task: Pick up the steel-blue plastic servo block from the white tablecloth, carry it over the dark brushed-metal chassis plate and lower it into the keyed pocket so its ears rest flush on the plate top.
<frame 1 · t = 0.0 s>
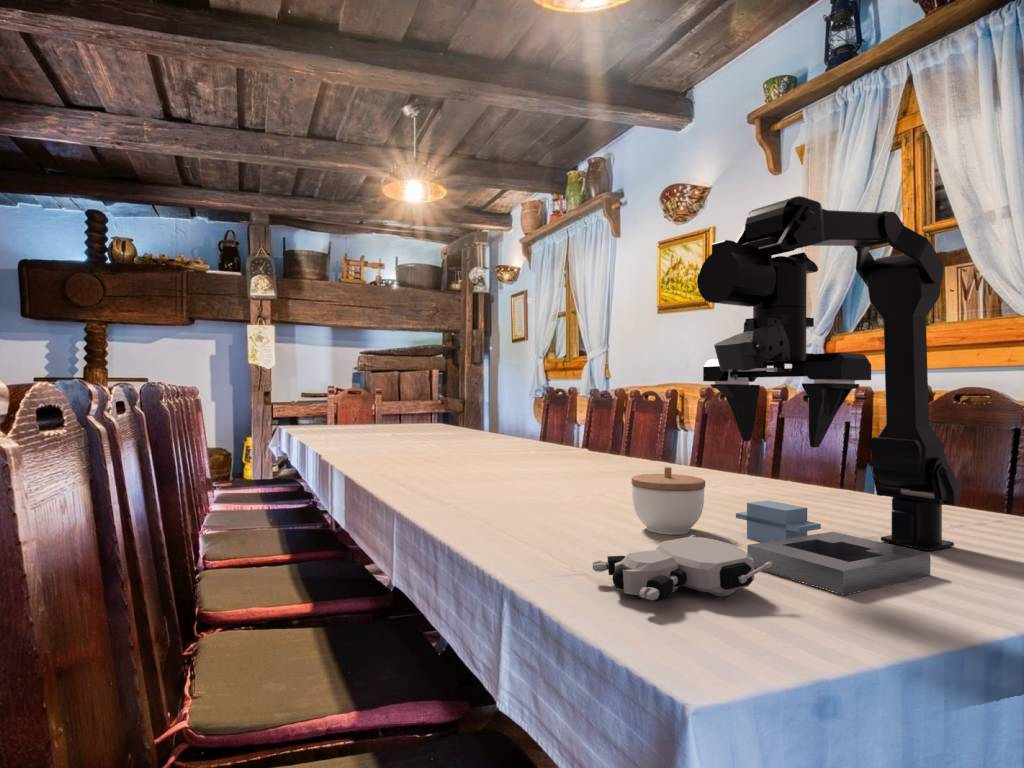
hand: (778, 443, 72), 15 cm above the table, fingers open, 9 cm apart
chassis: (831, 571, 71), on the table
lidded jar: (667, 531, 92), on the table
robot toy: (676, 594, 64), on the table
servo: (776, 541, 86), on the table
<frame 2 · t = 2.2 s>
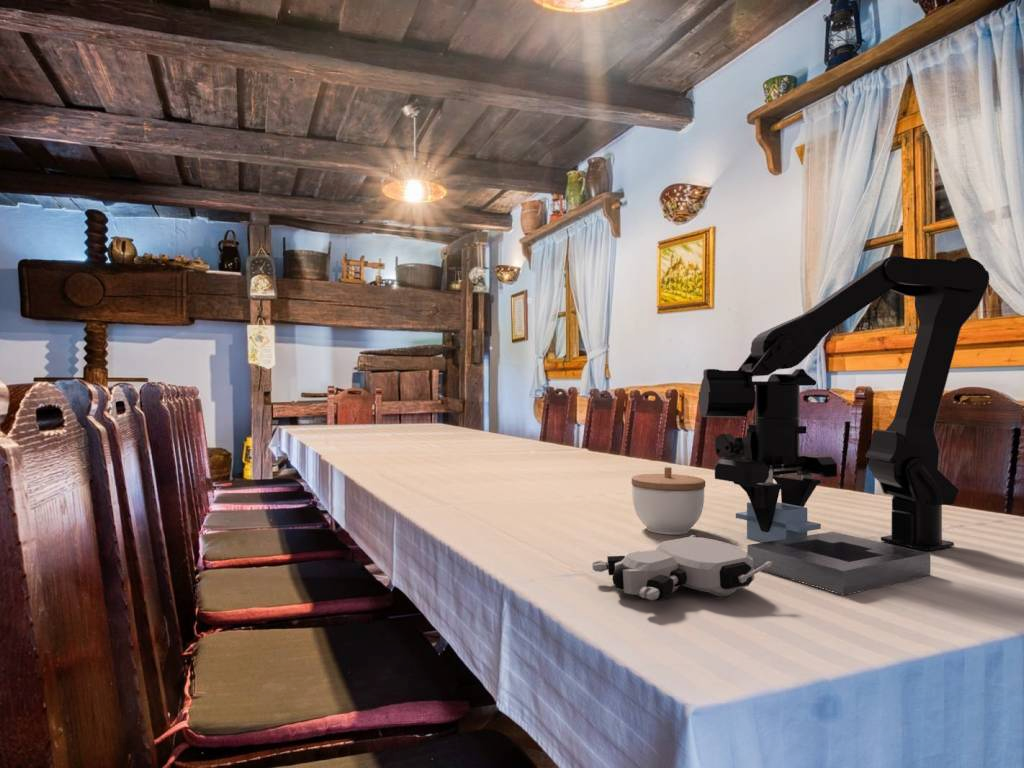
hand: (776, 529, 86), 2 cm above the table, fingers closed on servo, 4 cm apart
servo: (776, 541, 86), on the table, touching gripper
everything else where it was.
when the fingers open (3 cm above the table, at t = 5.9 s): servo drops 1 cm, resting on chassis.
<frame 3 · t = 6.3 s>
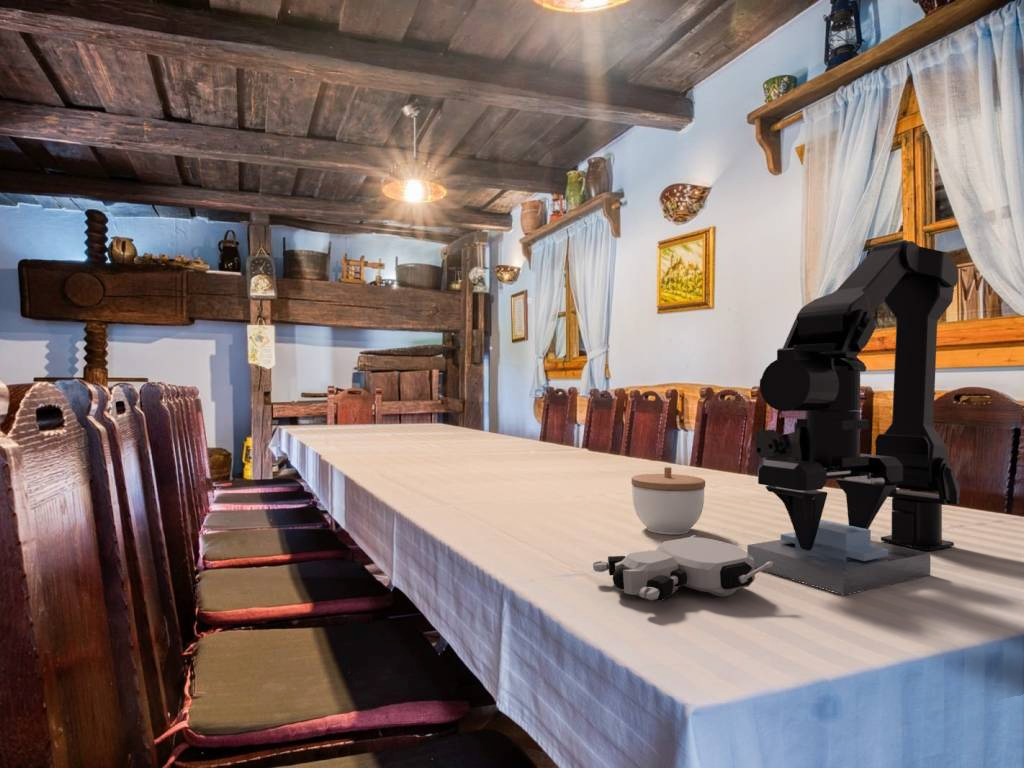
hand: (831, 545, 72), 3 cm above the table, fingers open, 9 cm apart
servo: (831, 569, 72), resting on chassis
everything else where it was.
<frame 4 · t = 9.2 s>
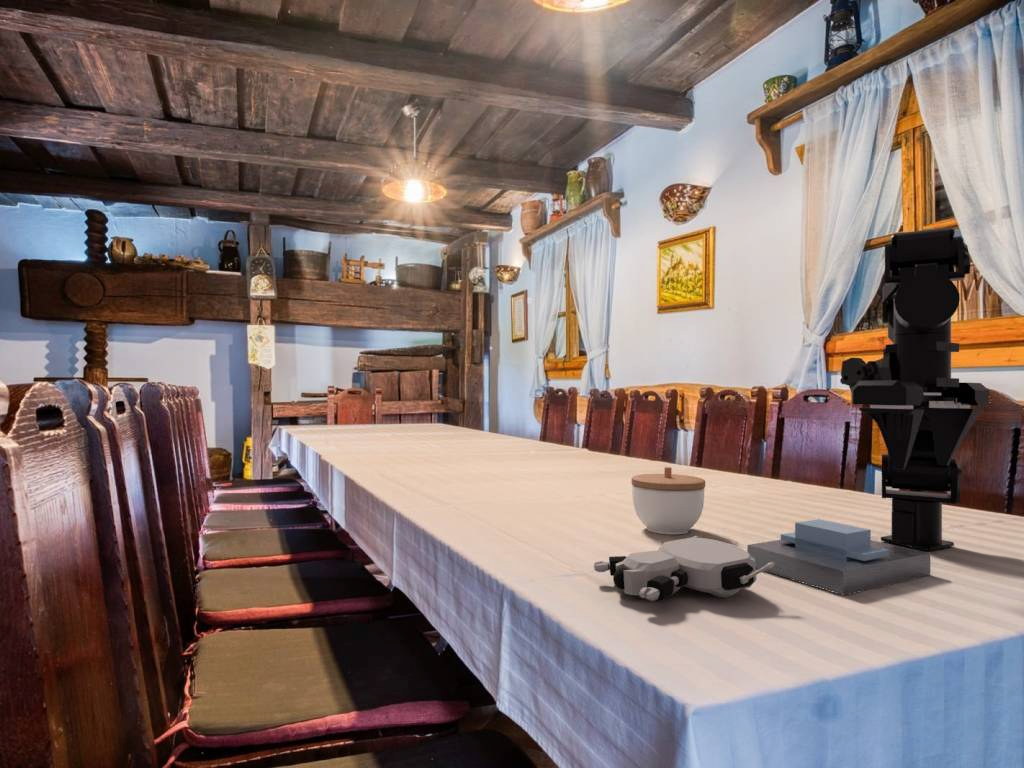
hand: (921, 466, 73), 12 cm above the table, fingers open, 9 cm apart
nothing on the table moved.
at the end: servo 0.2 cm off-centre on the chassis, point 0.2 cm above the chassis's base; servo tilted 0°; the gripper is holding nothing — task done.
